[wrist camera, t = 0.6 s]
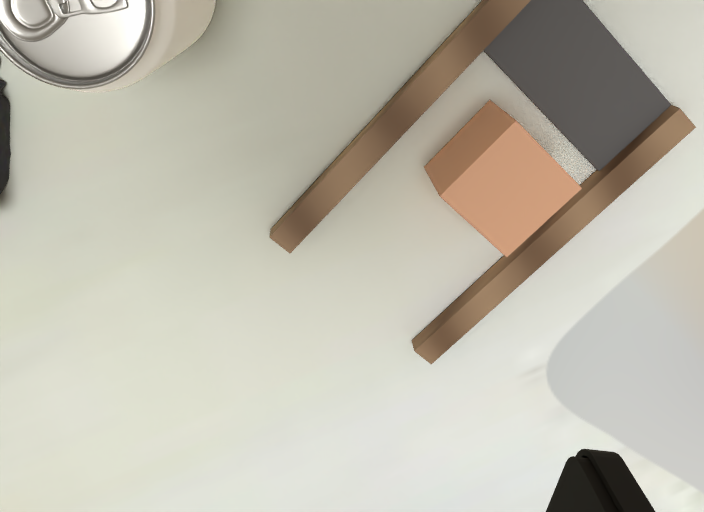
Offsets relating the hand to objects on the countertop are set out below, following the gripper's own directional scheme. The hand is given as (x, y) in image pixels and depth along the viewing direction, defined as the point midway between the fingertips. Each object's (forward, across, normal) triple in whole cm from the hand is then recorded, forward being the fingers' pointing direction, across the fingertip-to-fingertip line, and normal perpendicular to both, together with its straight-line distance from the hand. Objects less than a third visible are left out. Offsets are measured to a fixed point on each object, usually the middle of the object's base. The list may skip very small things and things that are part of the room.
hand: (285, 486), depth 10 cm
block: (+26, -10, +1) cm, 28 cm away
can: (+26, +8, -5) cm, 28 cm away
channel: (+26, -10, +2) cm, 28 cm away
